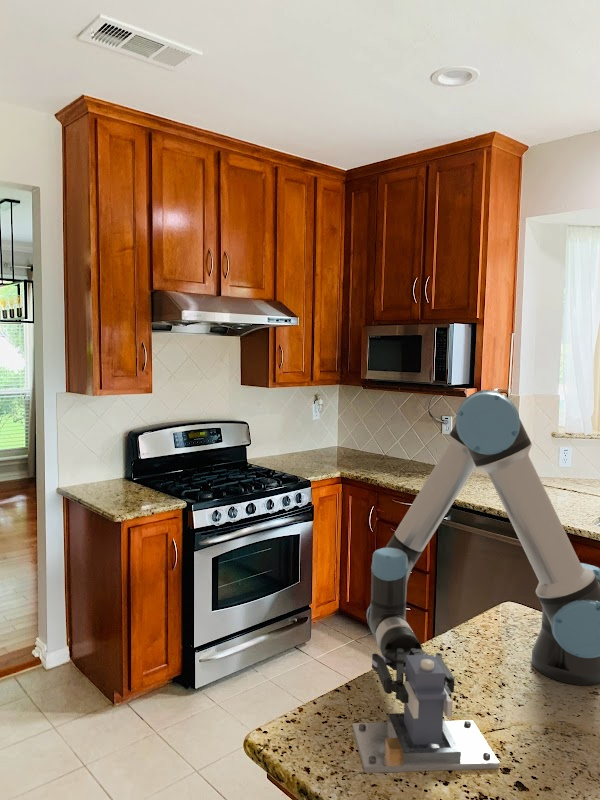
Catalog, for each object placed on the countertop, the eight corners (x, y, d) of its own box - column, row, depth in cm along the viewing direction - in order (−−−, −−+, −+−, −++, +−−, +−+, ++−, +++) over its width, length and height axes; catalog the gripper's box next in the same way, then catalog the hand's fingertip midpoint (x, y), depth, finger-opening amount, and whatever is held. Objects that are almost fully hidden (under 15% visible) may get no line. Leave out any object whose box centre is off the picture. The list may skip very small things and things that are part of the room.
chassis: (472, 725, 113) (473, 710, 112) (498, 768, 101) (499, 751, 100) (352, 728, 111) (352, 713, 111) (364, 772, 99) (365, 755, 99)
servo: (428, 716, 110) (431, 645, 110) (444, 749, 101) (447, 671, 100) (401, 717, 110) (404, 645, 109) (415, 749, 101) (418, 671, 100)
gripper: (441, 662, 124) (486, 731, 101) (353, 663, 122) (377, 733, 99) (443, 625, 124) (488, 686, 100) (354, 626, 122) (378, 688, 99)
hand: (432, 709), depth 100 cm, fingers closed on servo, 5 cm apart
